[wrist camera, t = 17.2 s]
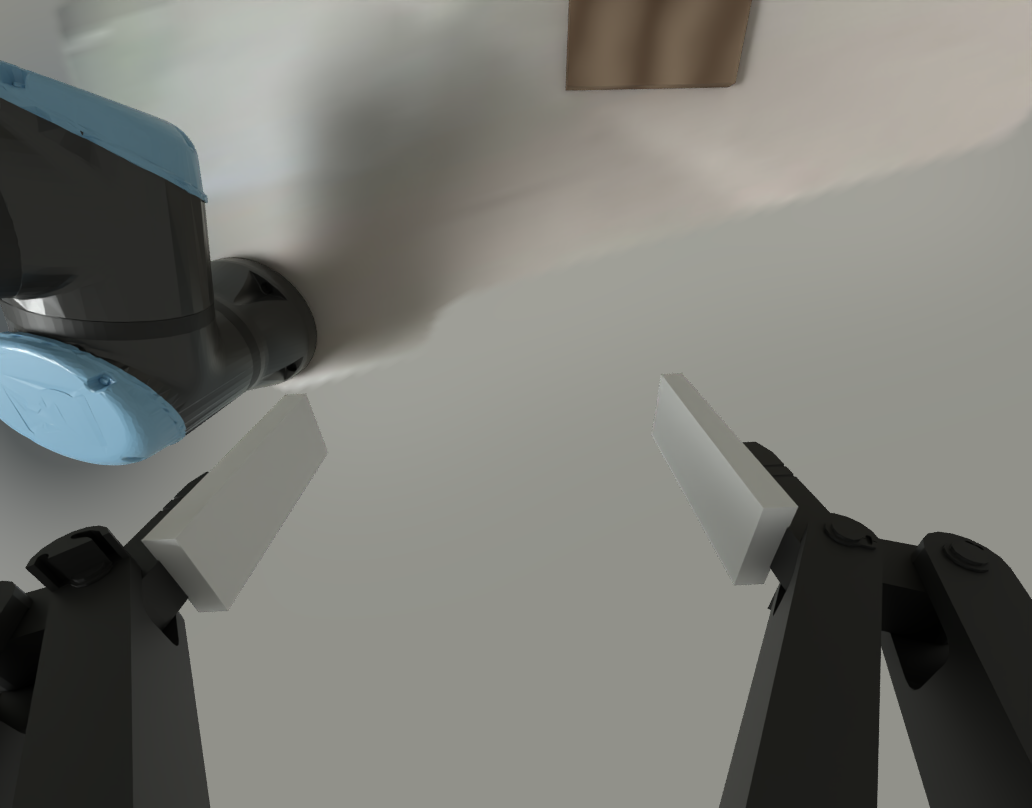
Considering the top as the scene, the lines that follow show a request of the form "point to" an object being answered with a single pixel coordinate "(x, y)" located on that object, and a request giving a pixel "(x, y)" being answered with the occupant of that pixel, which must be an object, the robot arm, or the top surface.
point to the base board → (654, 43)
